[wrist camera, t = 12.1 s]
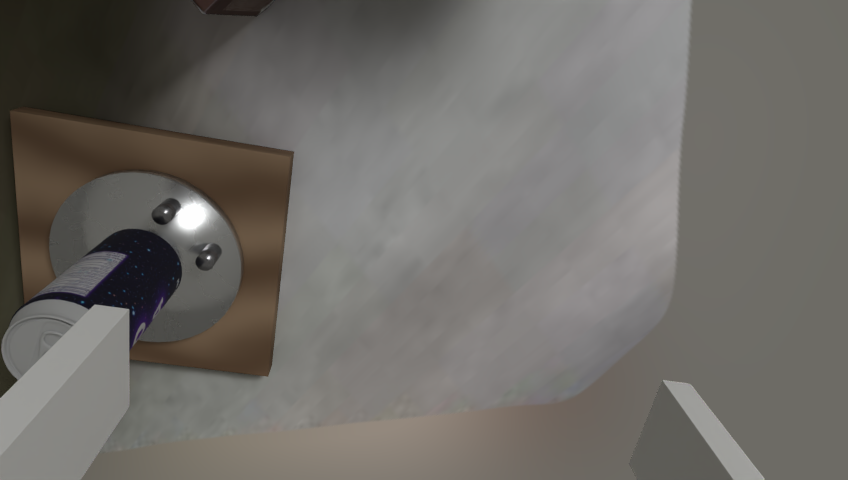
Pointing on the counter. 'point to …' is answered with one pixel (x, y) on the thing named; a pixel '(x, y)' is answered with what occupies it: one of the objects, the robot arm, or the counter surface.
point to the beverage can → (96, 294)
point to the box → (232, 7)
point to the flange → (171, 220)
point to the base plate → (184, 158)
